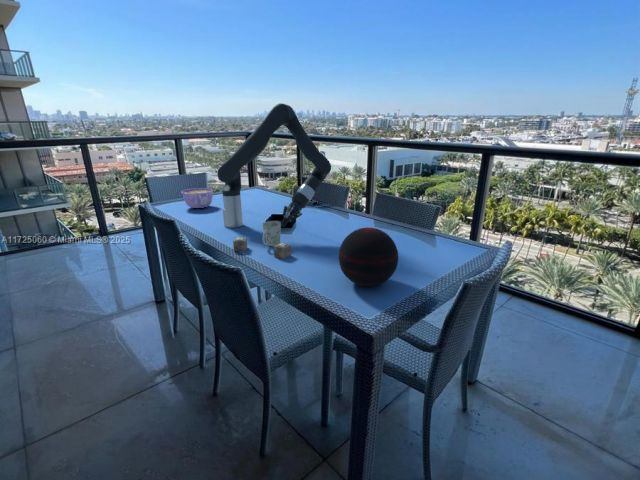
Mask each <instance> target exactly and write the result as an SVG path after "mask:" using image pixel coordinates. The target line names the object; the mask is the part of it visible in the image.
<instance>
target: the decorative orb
mask: <svg viewBox="0 0 640 480" xmlns="http://www.w3.org/2000/svg"><path fill="white" fill-rule="evenodd" d="M398 264H399V251H398V248H397V245H396V243H395V241H394V240H393V239H392V237H391V236H390V235H389V234H388V233H386V232H385V231H384V230H381V229H379V228H375V227H362V228H358V229H355V230H353V231H352V232H350V233H349V234H348V235H346V237H344V240H343V241H342V243H341V244H340V247H339V251H338V265H339V267H340V269H341V271H342V273H343V275H344V276H345V277H346V278H347V279H348V280H349V281H350V282H352V283H353V284H356V285H358V286H359V287H360V286H361V287H366V288H368V287H370V288H371V287H377V286H379V285H383V284H384V283H386V282H387V281H388V280H389V279H390V278H391V277H392V276H393V275H394V273H395V272H396V269H397V267H398Z"/></svg>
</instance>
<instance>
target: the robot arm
mask: <svg viewBox="0 0 640 480" xmlns="http://www.w3.org/2000/svg"><path fill="white" fill-rule="evenodd" d="M282 126H284V127H286V129H287V130H288V131H289V132H290V134H291V135H292V136H293V138H294V140H295V143H296V145H297V146H298V147H297V148H298V149H299V150H300V152H301V153H302V155H303V156H304V158H305V159H306V160H307V161H308V162H311V163H312V164H313V165H314V169H313V170H312V172H310V173H311V175H308V177H306V178H307V179H306V180H305V182H304V183H303V184H302V183H301V185H300V186H301V187H300V188H299V189H296V192H294V196H293V195H292V197H291V202H290V203H289V205H288V206H287V205H284V207H283V211H282V216H283V218H282V220H281V221H280V223H281V227H283V228H285V227H286V226H287V224H288V223H289V222H291V221H292V222H293V221H295V220H296V219H297V218H299V217H301V216H302V215H303V213H302V210H303V209H305V208H306V207H307V206H306V205H307V204H310V202H311V201H310V200H312V198H313V197H314V196H315V194H316V192H317V191H318V189H319V188H320V186H321V184H322V182H323V181H325V179H326V178H327V177H328V175H329V174H330V172H331V170H332V164H331V162H330V160H328V158H327V157H326V156H325V155H324V154H323V153H322V152H321V151H320V150H319V148H318V147H317V146H316V145H315V143H314V142H313V140H312V139H311V138H310V136H309V135H308V133H307V132H306V130H305V129H304V128H303V125H302V124H301V122H300V120H299V118H298V116H297V114H296V112H295V111H294V108H293V107H291V106H290V105H288V104H285V103H281V102H280V103H278V104H276V105H274V106H273V108H271V110H270V111H269V112H268V114H267V115H266V117H265V118H264V120H263V121H262V122H261V123H260V124H259V125H258V126H257V127H256V128H255V129H254V131H253V132H252V133H250V135H249V136H248V137H247V138H246V139H244V142H243V143H242V144H241V145H240V146H239V147H238V148H237V150H236V151H235V152H234V153H233V155H232V156H231V157H230V158H229V159H227V160H226V161H225V162H224V163H223V164H222V165H220V166H219V168H218V170H217V174H216V175H217V178H218V180H219V181H220V182H221V183H224V186H223V188H222V190H221V193H222V202H223V208H222V216H223V217H222V219H223V226H224V227H226V228H230V229H231V228H239V227H243V225H244V221H243V219H244V218H243V211H242V210H243V208H242V199H241V198H242V196H241V189H242V177H241V169H242V168H243V167H244V166H246V165H247V164H248V163H251V162H252V161H253V160H254V159H256V158H257V157H258V156H259V155H260V154H261V153H262V152H263V151H264V150H265V149H266V148H267V146H268V144H269V142H270V139H271V137H272V136H273V134H274V133H275V132H277V130H278V129H279V128H281V127H282Z"/></svg>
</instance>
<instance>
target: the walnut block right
mask: <svg viewBox="0 0 640 480" xmlns="http://www.w3.org/2000/svg"><path fill="white" fill-rule="evenodd" d="M291 248H292V247H291V244H290V243H284V242H280V243H279V244H277V245H275V246H273V254H274V255H273V256H274V258H277V259H281V260H286V259H287V258H289V257H291V256H292V249H291Z"/></svg>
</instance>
